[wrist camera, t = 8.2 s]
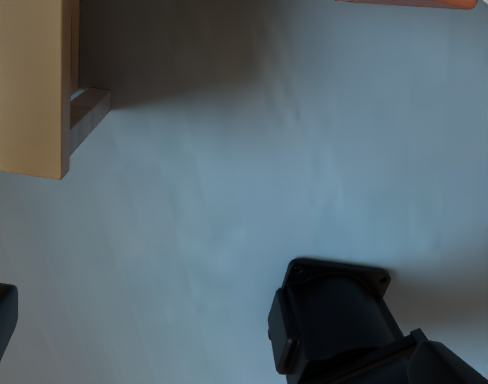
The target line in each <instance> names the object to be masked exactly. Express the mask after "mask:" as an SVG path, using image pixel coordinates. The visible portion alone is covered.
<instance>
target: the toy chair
mask: <svg viewBox="0 0 488 384" xmlns="http://www.w3.org/2000/svg"><path fill="white" fill-rule="evenodd" d="M335 1H345V2H350V3H366V4H383V5H399V6H416V7H432V8H449V9H465V10H468V9H472V8H474V6H475V5H476V3H477V1H478V0H335Z"/></svg>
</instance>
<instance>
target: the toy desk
mask: <svg viewBox="0 0 488 384" xmlns="http://www.w3.org/2000/svg"><path fill="white" fill-rule="evenodd" d="M79 11H80V0H0V171H4V172H11V173H17V174H24V175H31V176H38V177H44V178H51V179H58V180H62V179H63V177H64V176H65V175H66V174H67V172H68V171H69V157H70V155H71V154H72V153H73V152H74V151H75V150H76V149H77V148H78V146H79V145H80V144H81V143H82V142H83V141H84V140H85V138H86V137H87V136H88V135H89V134H90V133H91V132H92V131H93V129H94V128H95V127H96V126H97V125H98V124H99V123H100V121H101V120H102V119H103V118H104V117H105V116H106V115H107V114H108V112H109V111H110V101H111V91H108V90H102V89H97V88H92V87H89V88H88V89H87V90H85V91H84V92H83V93H81V94H80V95H79V96H78V97H76V98H75V99H74V100H72V101H71V102H70V96H71V95H72V94H74V93H75V92H76V91H77V90H78V57H79Z"/></svg>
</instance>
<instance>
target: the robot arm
mask: <svg viewBox="0 0 488 384" xmlns="http://www.w3.org/2000/svg"><path fill="white" fill-rule="evenodd" d="M296 266H300V268H298V269H295V267H296ZM381 277H383V278H382V279H380V278H381ZM390 280H391V277H390V275H389V273H388V272H387V271H386V270H383V269H375V268H367V267H360V266H352V265H344V264H336V263H329V262H321V261H313V260H305V259H294V260H292V261H291V262H290V263H289V265H288V268H287V272H286V275H285V278H284V281H283V284H282V288H279V289H278V290H277V291H276V294H275V297H274V300H273V303H272V307H271V310H270V313H269V316H268V325H269V329H268V336H269V339H270V340H271V343H272V349H273V355H274V360H275V366H276V370H277V372H278V373H279V374H282V375H286V379H287V384H488V380H487V379H486V378H485V377H483V376H482V375H481V374H480V373H478V372H477V371H476V370H475V369H473V368H472V367H471V366H470V365H468V364H467V363H466V362H465V361H463V360H462V359H461V358H460V357H458V356H457V355H456V354H455V353H453V352H452V351H451V350H450V349H448V348H447V347H446V346H445V345H443V344H442V343H440V342H437V341H430V340H428V339H427V338H426V336H425V335H424V333H423V332H422V330H421V329H420V328H418V329H416V330H414V331H412V332H410V335H408V336H405V337H404V336H403V334H402V332H401V330H400V329H399V327H398V325H397V323H396V321H395V320H394V318H393V316H392V314H391V312H390V311H389V309H388V307H387V305H386V303H385V302H384V300H383V296H384V294H385V292H386V289H387V287H388V285H389V283H390ZM17 320H18V290H17V287H16V286H15V285H11V284H4V283H0V361H1V359H2V356H3V354H4V352H5V350H6V347H7V345H8V343H9V341H10V338H11V336H12V334H13V332H14V329H15V327H16V324H17Z"/></svg>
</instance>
